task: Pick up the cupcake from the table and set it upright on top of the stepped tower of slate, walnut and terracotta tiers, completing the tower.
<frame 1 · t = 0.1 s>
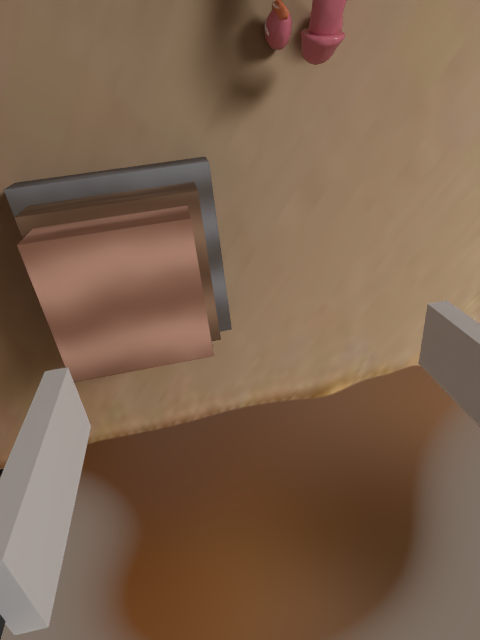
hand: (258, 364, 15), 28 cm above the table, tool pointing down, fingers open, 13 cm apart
tower: (134, 257, 41), on the table
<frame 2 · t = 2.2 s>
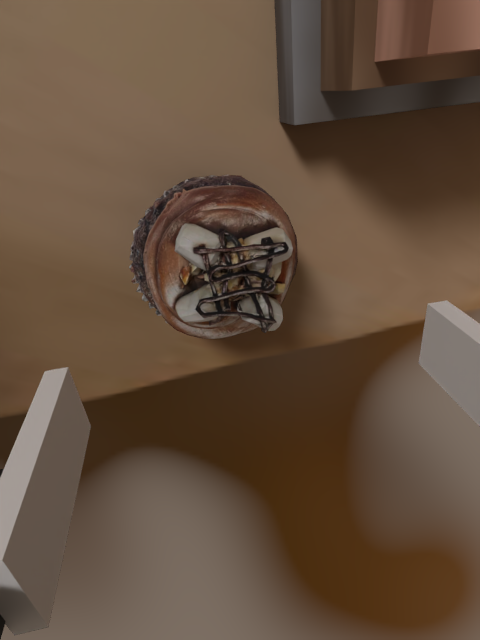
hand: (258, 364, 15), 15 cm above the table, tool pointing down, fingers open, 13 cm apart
cupcake: (205, 236, 28), on the table
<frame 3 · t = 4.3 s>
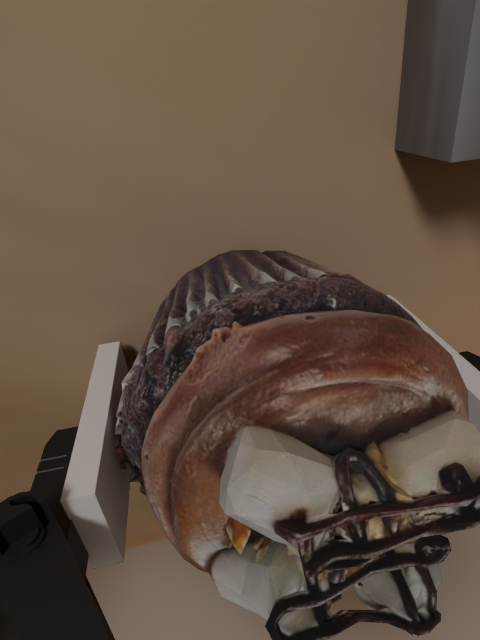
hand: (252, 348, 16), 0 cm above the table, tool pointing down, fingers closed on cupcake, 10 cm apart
cupcake: (249, 339, 16), on the table, touching gripper
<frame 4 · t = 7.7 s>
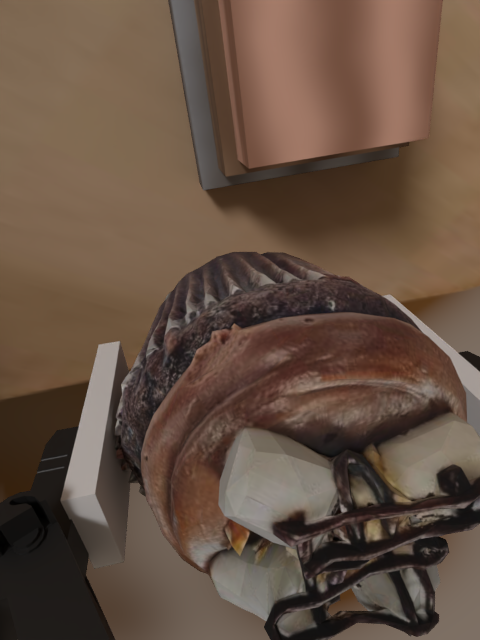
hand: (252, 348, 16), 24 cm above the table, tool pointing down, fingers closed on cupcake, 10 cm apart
cupcake: (248, 340, 16), point 23 cm above the table, touching gripper
tower: (286, 55, 32), on the table
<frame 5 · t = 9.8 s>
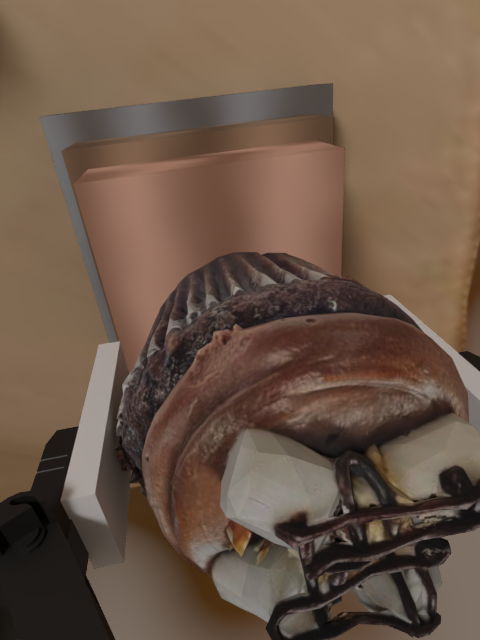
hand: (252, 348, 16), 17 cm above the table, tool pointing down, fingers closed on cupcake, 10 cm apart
cupcake: (249, 340, 16), point 16 cm above the table, touching gripper
tower: (206, 228, 30), on the table
when the fingers open (13 cm above the table, at t = 11.4 s): cupcake drops 2 cm, resting on tower.
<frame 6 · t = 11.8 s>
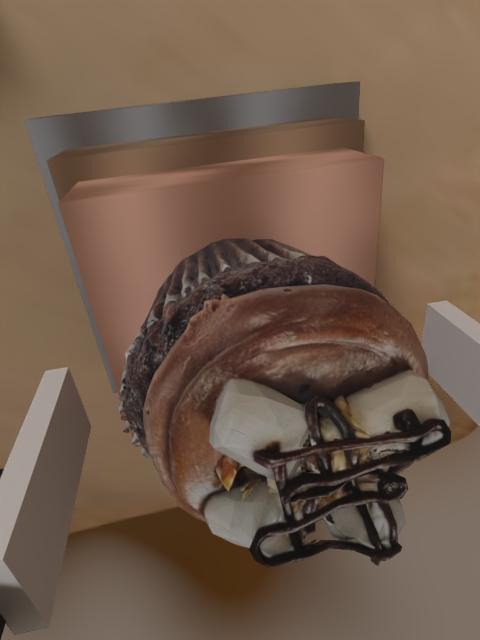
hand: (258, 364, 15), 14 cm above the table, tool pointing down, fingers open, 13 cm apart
cupcake: (241, 321, 18), point 11 cm above the table, touching tower
tower: (214, 243, 27), on the table
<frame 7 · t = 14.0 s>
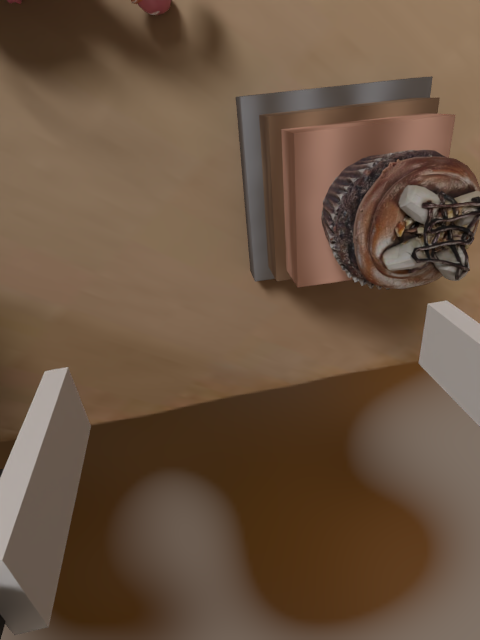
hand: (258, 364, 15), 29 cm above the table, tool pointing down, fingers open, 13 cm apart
cupcake: (368, 208, 32), point 11 cm above the table, touching tower
tower: (325, 182, 41), on the table
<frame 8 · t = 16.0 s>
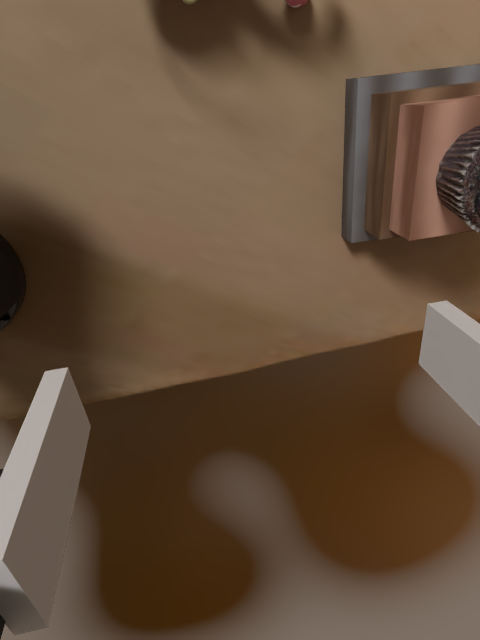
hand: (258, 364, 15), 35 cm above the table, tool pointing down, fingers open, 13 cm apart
cupcake: (473, 170, 38), point 11 cm above the table, touching tower
tower: (412, 155, 47), on the table
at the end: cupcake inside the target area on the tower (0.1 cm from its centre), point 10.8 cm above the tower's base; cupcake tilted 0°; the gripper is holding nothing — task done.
